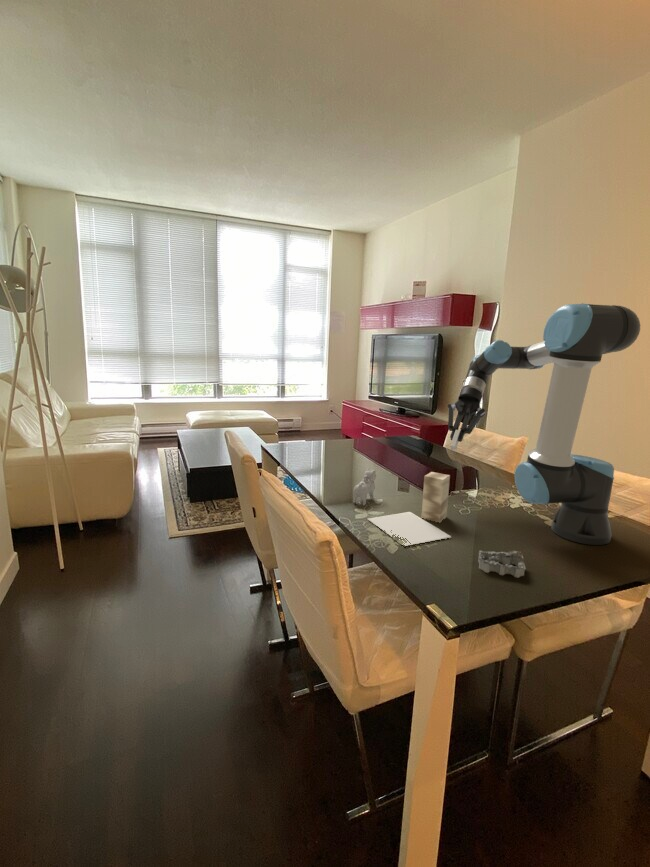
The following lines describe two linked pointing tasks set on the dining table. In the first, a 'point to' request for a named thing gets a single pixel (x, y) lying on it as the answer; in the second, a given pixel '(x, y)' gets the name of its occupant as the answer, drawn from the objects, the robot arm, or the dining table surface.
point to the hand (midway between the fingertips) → (452, 448)
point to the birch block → (435, 496)
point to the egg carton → (505, 558)
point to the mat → (409, 528)
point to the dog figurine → (365, 486)
